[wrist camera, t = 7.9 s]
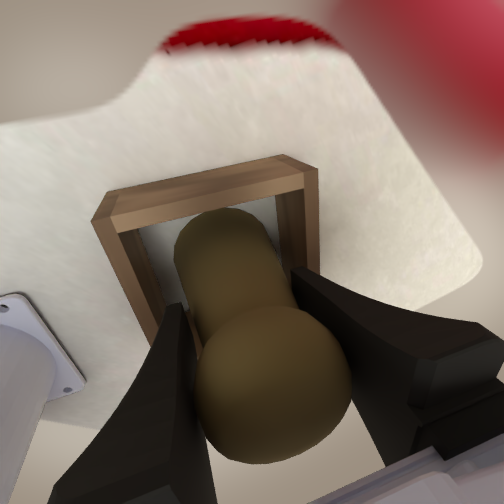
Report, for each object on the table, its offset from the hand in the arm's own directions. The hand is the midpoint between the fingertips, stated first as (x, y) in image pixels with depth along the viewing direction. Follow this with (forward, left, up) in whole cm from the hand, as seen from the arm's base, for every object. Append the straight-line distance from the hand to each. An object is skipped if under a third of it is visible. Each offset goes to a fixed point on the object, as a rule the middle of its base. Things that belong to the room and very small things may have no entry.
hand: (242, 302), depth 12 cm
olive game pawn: (0, -1, -6) cm, 6 cm away
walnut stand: (0, 0, -5) cm, 5 cm away
